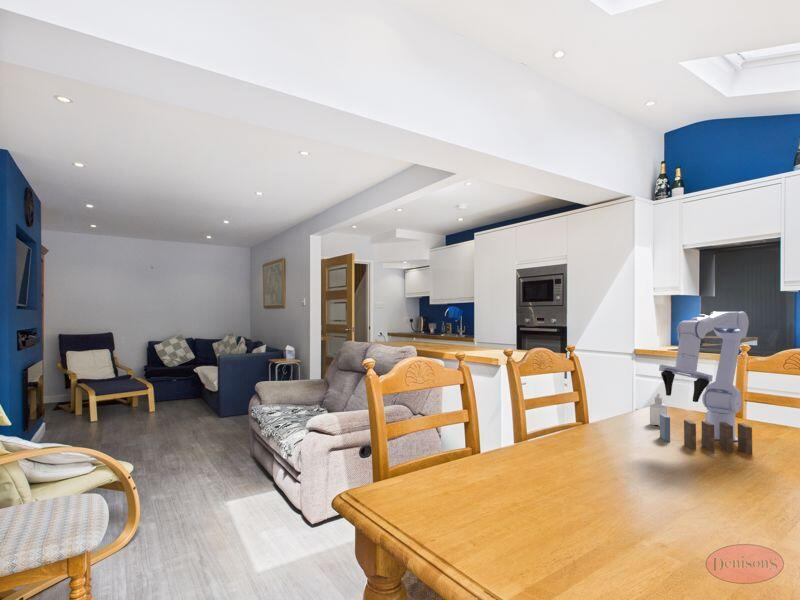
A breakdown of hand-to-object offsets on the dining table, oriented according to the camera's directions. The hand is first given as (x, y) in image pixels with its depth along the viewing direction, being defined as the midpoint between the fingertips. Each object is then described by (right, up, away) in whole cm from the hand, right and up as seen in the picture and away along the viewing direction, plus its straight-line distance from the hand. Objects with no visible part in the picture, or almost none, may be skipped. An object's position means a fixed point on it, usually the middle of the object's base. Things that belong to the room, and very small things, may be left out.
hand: (681, 398), depth 135 cm
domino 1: (+1, -16, +10) cm, 19 cm away
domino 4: (+13, -16, -1) cm, 21 cm away
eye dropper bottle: (+10, -17, +28) cm, 34 cm away
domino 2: (+4, -16, +1) cm, 16 cm away
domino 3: (+8, -16, 0) cm, 18 cm away
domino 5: (+18, -16, -2) cm, 24 cm away
